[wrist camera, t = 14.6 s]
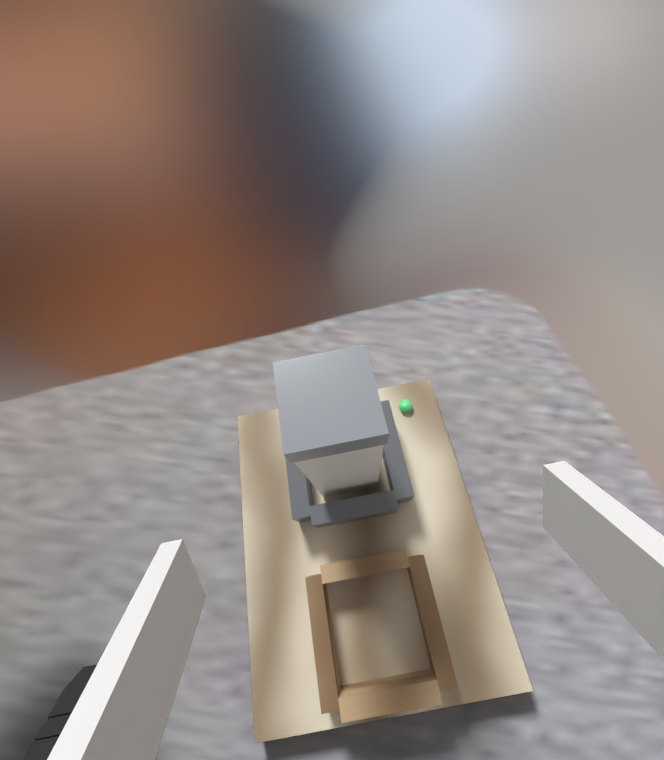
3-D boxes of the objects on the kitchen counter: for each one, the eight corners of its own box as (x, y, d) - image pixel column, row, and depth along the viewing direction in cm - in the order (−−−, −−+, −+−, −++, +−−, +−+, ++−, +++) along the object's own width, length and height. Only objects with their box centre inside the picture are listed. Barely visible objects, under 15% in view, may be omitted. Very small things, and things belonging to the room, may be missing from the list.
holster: (326, 710, 20) (322, 726, 18) (308, 567, 23) (304, 568, 22) (453, 687, 20) (461, 700, 18) (417, 546, 23) (421, 546, 22)
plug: (322, 498, 25) (283, 454, 14) (313, 443, 27) (272, 362, 16) (379, 487, 25) (389, 433, 14) (366, 432, 27) (365, 343, 15)
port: (300, 531, 24) (293, 529, 22) (287, 424, 28) (280, 413, 26) (440, 504, 24) (448, 499, 22) (410, 400, 28) (413, 387, 26)
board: (260, 733, 21) (254, 743, 20) (242, 421, 30) (237, 416, 29) (524, 683, 21) (533, 691, 20) (426, 385, 30) (428, 379, 29)
